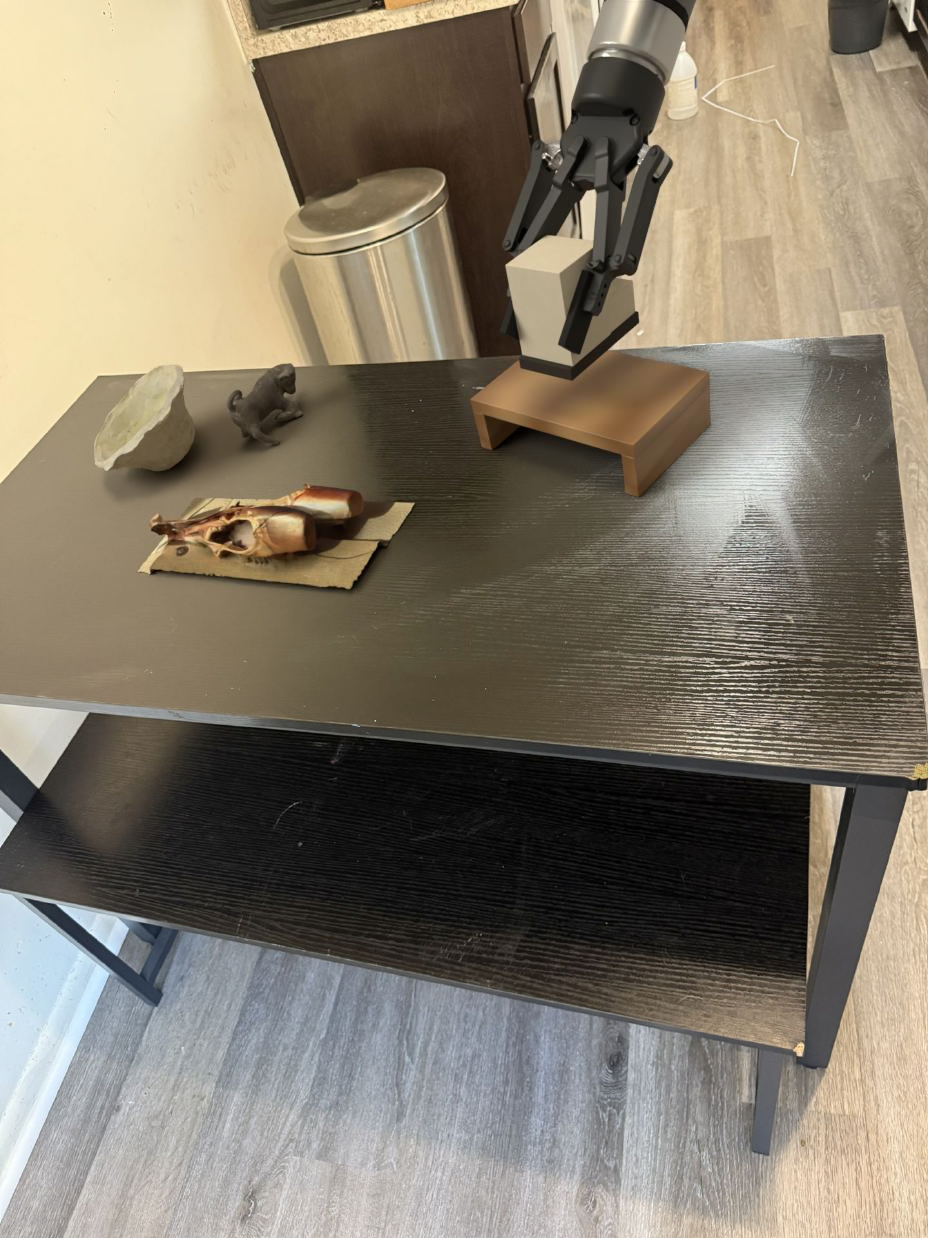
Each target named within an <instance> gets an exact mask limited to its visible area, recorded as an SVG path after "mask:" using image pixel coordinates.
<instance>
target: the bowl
mask: <svg viewBox="0 0 928 1238" xmlns="http://www.w3.org/2000/svg"><path fill="white" fill-rule="evenodd" d="M184 389H185V378H184V369H183V367H182V365H180V364H162V365H158V366H156V367H154V368H153V369H151V370H150V371H148V372H147V373H144V375H142V376H141V377H140V378H139V379H137V380H136V381H135V383H134V385H133V386H131V387H130V388H129V391H128V393H125V395H124V396H123V397H122V398H121V399H120V401H119V402H118V403H117V404H116V405H115V406H114V408H113V409H112V410H110V411H109V413H108V414H107V415H106V418H105V420H104V422H103V424H102V426H101V428H100V431H99V432H98V433H97V435H96V437H95V439H94V444H93V446H94V447H93V458H94V464H95V466H96V467H97V468H99V469H102V470H103V469H104V471H106V472H111V471H112V470H117V469H118V470H119V469H122V468H136V469H145V470H150V471H153V472H163V471H167V470H170V469H171V468H173V467H174V466H176V465H177V464H178V463H180V461H182V460H183V458H184V457H185V456H186V455H187V454H188V453H189V452H190V449H191V447H192V444H193V443H194V440H195V435H196V432H195V424H194V420H193V418H192V415H190V413H189V410H188V408H187V406H186V402H185V394H184Z"/></svg>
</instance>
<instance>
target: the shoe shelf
mask: <svg viewBox="0 0 928 1238" xmlns="http://www.w3.org/2000/svg"><path fill="white" fill-rule="evenodd" d="M710 373H711V372H710V370H709V371H708V370H703V369H699V368H693V367H690V366H684V365H680V364H675V363H670V362H665V361H661V360H656V359H651V358H646V357H642V356H636V355H631V354H628V353H622V352H617V351H614V350H613V351H612V350H607V351H606V352H605V353H604V354H603V355H602V356H601V357H599V358H598V359H597V360H596V361H595V362H594V363H592V364H591V365H590V366H589V367H588V368H587V369H586V370H584V371H583V372H582V373H581V374H580V375H579V376H577V377H576V378H575V379H574V380H573V381H570V380H566V379H562V378H558V377H554V376H550V375H545V374H541V373H537V372H533V371H529V370H525V369H521V368H520V363H519V359H518V360H516V362H513V364H512V365H511V366H509V367H508V368H507V369H505V370H504V371H503V372H501V374H500V375H498V376H496V378H495V379H493V380H492V381H491V382H490V383H489V384H487V385H486V386H485V387H483V388H482V389H481V390H480V391H479V392H477V393H476V394H475V395H473V396H472V397H471V398H470V399H469V400H470V404H471V409H472V412H473V417H474V420H475V421H474V422H475V425H476V429H477V433H478V437H479V441H480V445H481V448H484V449H487V450H489V451H493V450H494V449H495V448H497V447H498V446H499V445H501V443H503V442H504V441H505V440H506V439H507V438H508V437H510V436H511V435H512V434H513V433H514V432H515V431H517V429H519V428H520V427H526V428H529V429H532V430H535V431H538V432H542V433H545V434H549V435H553V436H555V437H559V438H564V439H566V440H570V441H573V442H577V443H580V444H584V445H587V446H590V447H594V448H598V449H601V450H604V451H608V452H612V453H614V454H619V455H620V456H621V463H622V470H623V471H622V473H623V481H624V491H625V494H627V495H630V496H633V497H636V498H640V497H641V496H642V495H643V494H644V493H645V492H646V491H647V490H648V489H649V488H650V487H651V486H652V484H654V483H655V481H657V480H658V478H660V476H662V475H663V474H664V472H665V471H667V469H668V468H669V467H671V465H672V464H673V463H674V462H675V461H676V460H677V459H678V458H679V457H680V456H681V455H682V454H683V453H684V452H685V451H686V450H687V449H688V448H689V447H690V446H691V445H692V444H693V443H694V442H695V441H696V440H697V439H698V438H699V437H700V436H701V435H702V434H703V433H704V432H705V431H706V430H707V429H708V428H709V427H710V426H711V425H712V421H711V420H712V419H711V418H712V417H711V415H712V414H711V376H710V375H711V374H710Z"/></svg>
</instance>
